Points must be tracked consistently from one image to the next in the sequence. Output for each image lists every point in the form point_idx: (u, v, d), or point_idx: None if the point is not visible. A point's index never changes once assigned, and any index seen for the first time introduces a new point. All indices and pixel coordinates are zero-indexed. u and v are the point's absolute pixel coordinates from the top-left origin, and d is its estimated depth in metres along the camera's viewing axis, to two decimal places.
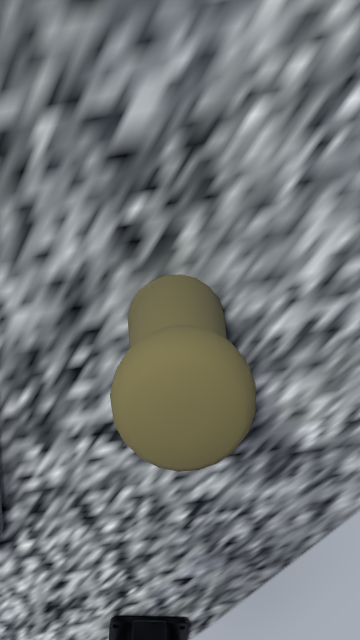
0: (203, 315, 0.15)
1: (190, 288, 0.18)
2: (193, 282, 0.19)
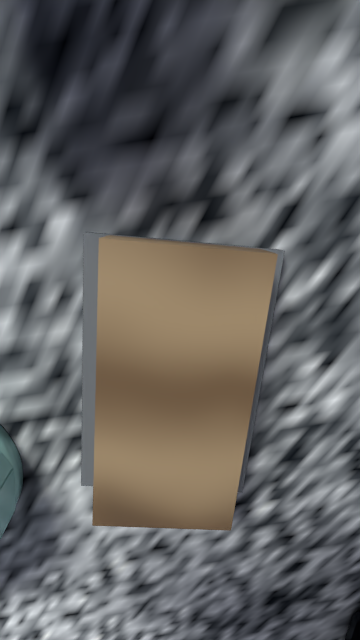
0: None
1: None
2: None
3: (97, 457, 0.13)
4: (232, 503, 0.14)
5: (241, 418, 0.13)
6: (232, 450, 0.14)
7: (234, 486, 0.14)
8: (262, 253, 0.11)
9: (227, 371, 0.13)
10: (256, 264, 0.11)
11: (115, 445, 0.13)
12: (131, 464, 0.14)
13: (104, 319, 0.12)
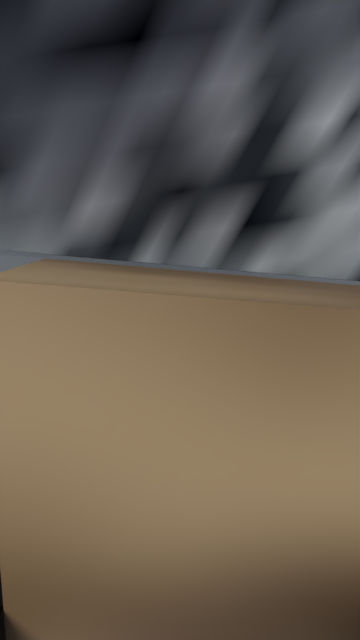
0: None
1: None
2: None
3: None
4: None
5: None
6: None
7: None
8: None
9: (316, 581, 0.05)
10: None
11: None
12: None
13: (12, 482, 0.05)
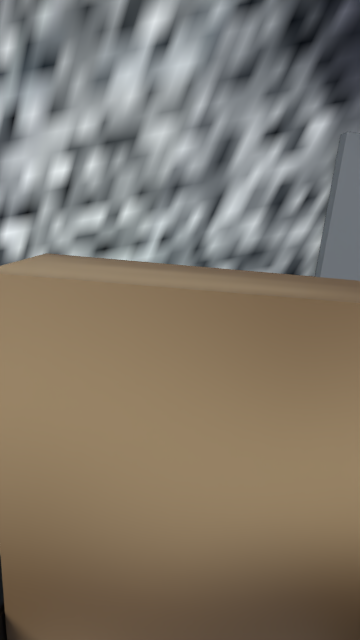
0: None
1: None
2: None
3: None
4: None
5: None
6: None
7: None
8: None
9: (318, 577, 0.05)
10: None
11: None
12: None
13: (13, 477, 0.05)
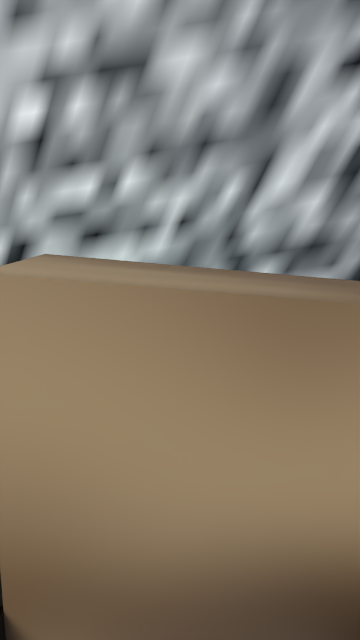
0: None
1: None
2: None
3: None
4: None
5: None
6: None
7: None
8: None
9: (317, 578, 0.05)
10: None
11: None
12: None
13: (12, 478, 0.05)
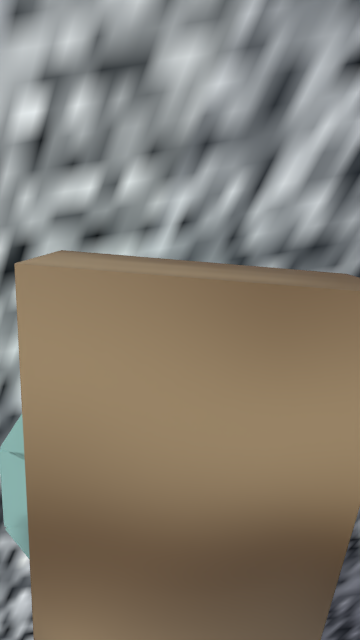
0: None
1: None
2: None
3: None
4: None
5: (315, 601, 0.07)
6: None
7: None
8: None
9: (295, 524, 0.06)
10: None
11: None
12: None
13: (39, 434, 0.05)
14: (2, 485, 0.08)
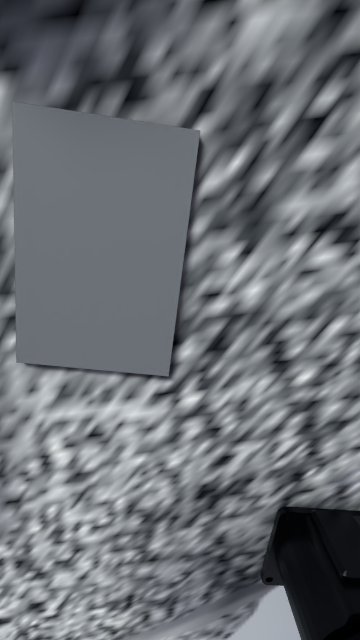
0: None
1: None
2: None
3: None
4: None
5: None
6: None
7: None
8: None
9: None
10: None
11: None
12: None
13: None
14: None
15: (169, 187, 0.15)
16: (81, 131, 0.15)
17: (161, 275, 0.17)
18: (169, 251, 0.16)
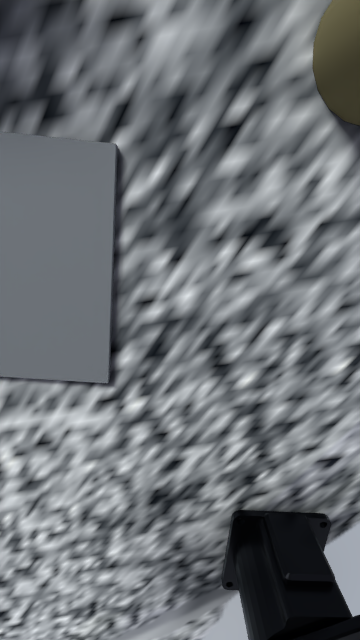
0: None
1: None
2: None
3: None
4: None
5: None
6: None
7: None
8: None
9: None
10: None
11: None
12: None
13: None
14: None
15: (91, 199, 0.16)
16: (0, 149, 0.15)
17: (91, 284, 0.17)
18: (97, 261, 0.17)
